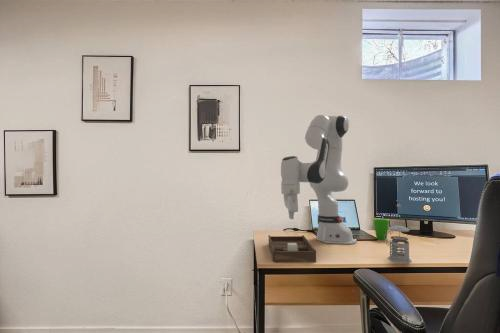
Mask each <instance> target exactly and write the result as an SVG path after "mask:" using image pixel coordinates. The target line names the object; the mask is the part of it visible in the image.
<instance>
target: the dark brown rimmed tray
mask: <svg viewBox="0 0 500 333" xmlns="http://www.w3.org/2000/svg"><path fill="white" fill-rule="evenodd" d="M287 243H296V244H297V251H288V246H287ZM268 247H269V251H270V254H271V260H272V263H317V250H316V248H315V247H314V246H313V244H311V243H310V242H309V240H308V239H307V238H306V237H305V235H301V236H298V235H297V236H295V235H293V236H291V235H290V236H289V235H287V236H284V235H283V236H273V235H268Z"/></svg>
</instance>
